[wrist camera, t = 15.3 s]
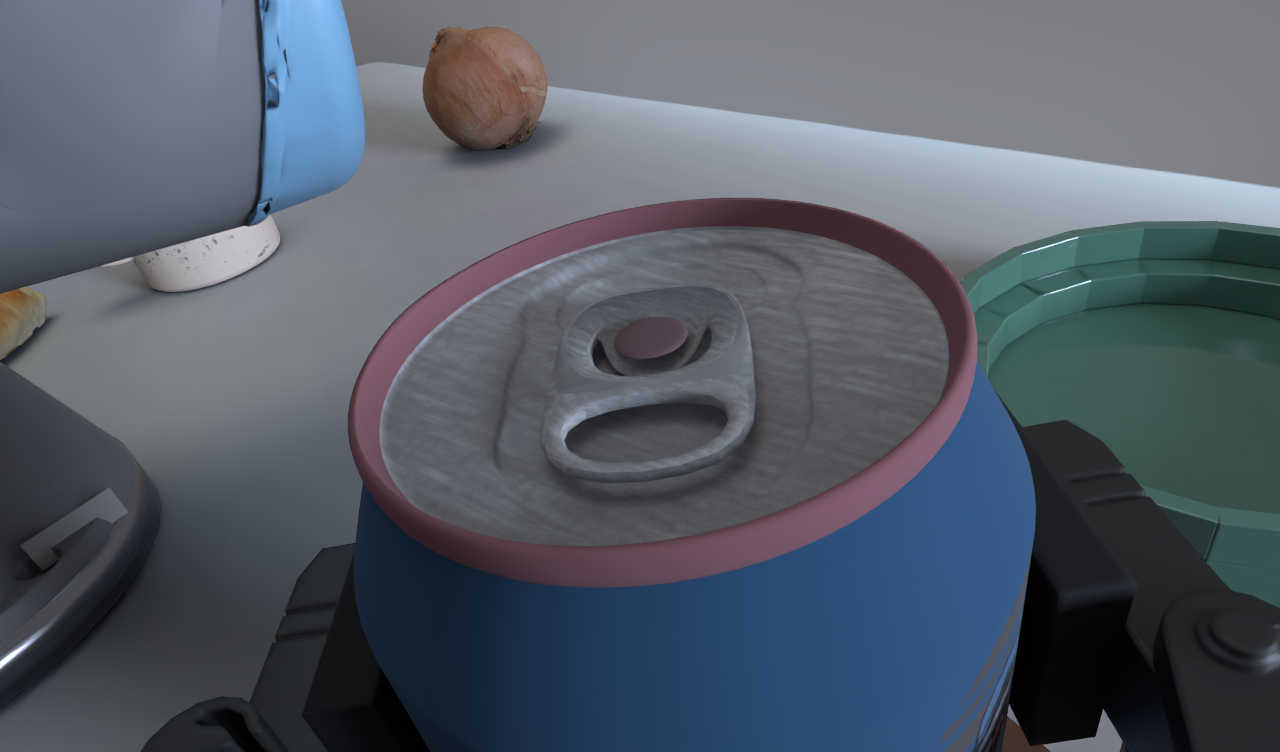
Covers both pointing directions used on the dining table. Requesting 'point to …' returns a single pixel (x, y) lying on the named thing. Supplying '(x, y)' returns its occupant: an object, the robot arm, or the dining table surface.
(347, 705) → the robot arm
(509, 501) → the soda can
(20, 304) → the pastry
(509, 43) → the onion
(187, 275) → the teacup with lid
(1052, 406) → the bowl
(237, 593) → the dining table surface
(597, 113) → the dining table surface
